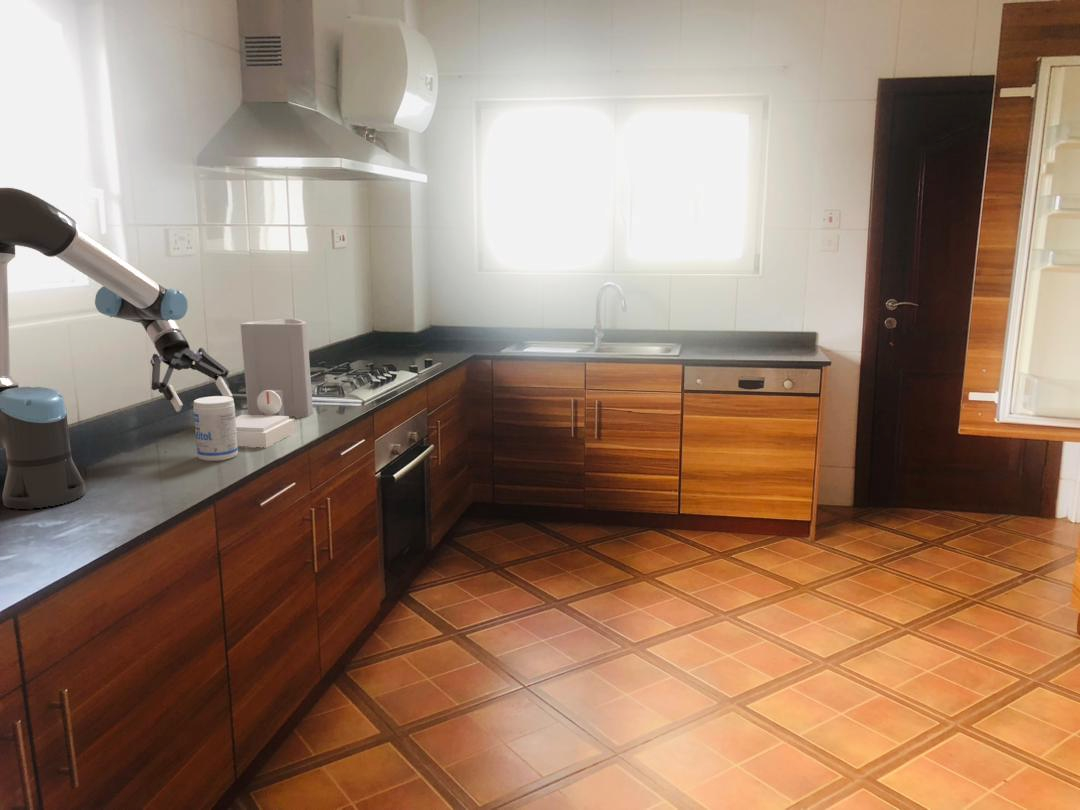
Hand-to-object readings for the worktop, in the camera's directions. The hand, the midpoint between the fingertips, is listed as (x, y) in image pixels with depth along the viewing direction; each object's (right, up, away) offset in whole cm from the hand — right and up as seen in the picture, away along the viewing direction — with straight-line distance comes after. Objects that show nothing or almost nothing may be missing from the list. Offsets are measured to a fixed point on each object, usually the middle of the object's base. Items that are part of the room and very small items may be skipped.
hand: (205, 403), depth 210 cm
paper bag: (+6, -3, +49) cm, 49 cm away
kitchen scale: (+8, -9, +17) cm, 21 cm away
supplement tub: (+4, -14, -2) cm, 14 cm away
